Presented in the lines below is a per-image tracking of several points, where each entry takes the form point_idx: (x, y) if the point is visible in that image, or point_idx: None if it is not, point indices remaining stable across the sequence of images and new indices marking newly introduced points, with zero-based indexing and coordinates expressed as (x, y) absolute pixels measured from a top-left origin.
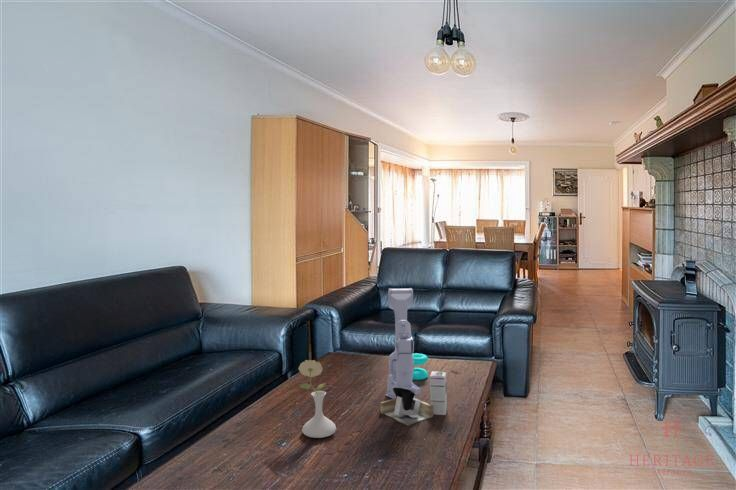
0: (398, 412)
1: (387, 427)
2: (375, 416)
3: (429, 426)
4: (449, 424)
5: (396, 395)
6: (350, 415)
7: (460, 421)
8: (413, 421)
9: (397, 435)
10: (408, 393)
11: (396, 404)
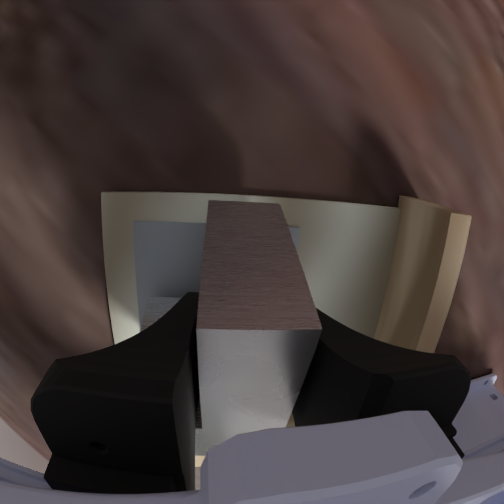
0: (217, 211)
1: (184, 46)
2: (403, 127)
3: (27, 298)
4: (18, 383)
5: (361, 343)
6: (488, 49)
7: (33, 429)
8: (121, 270)
9: (47, 37)
10: (42, 423)
11: (283, 252)
